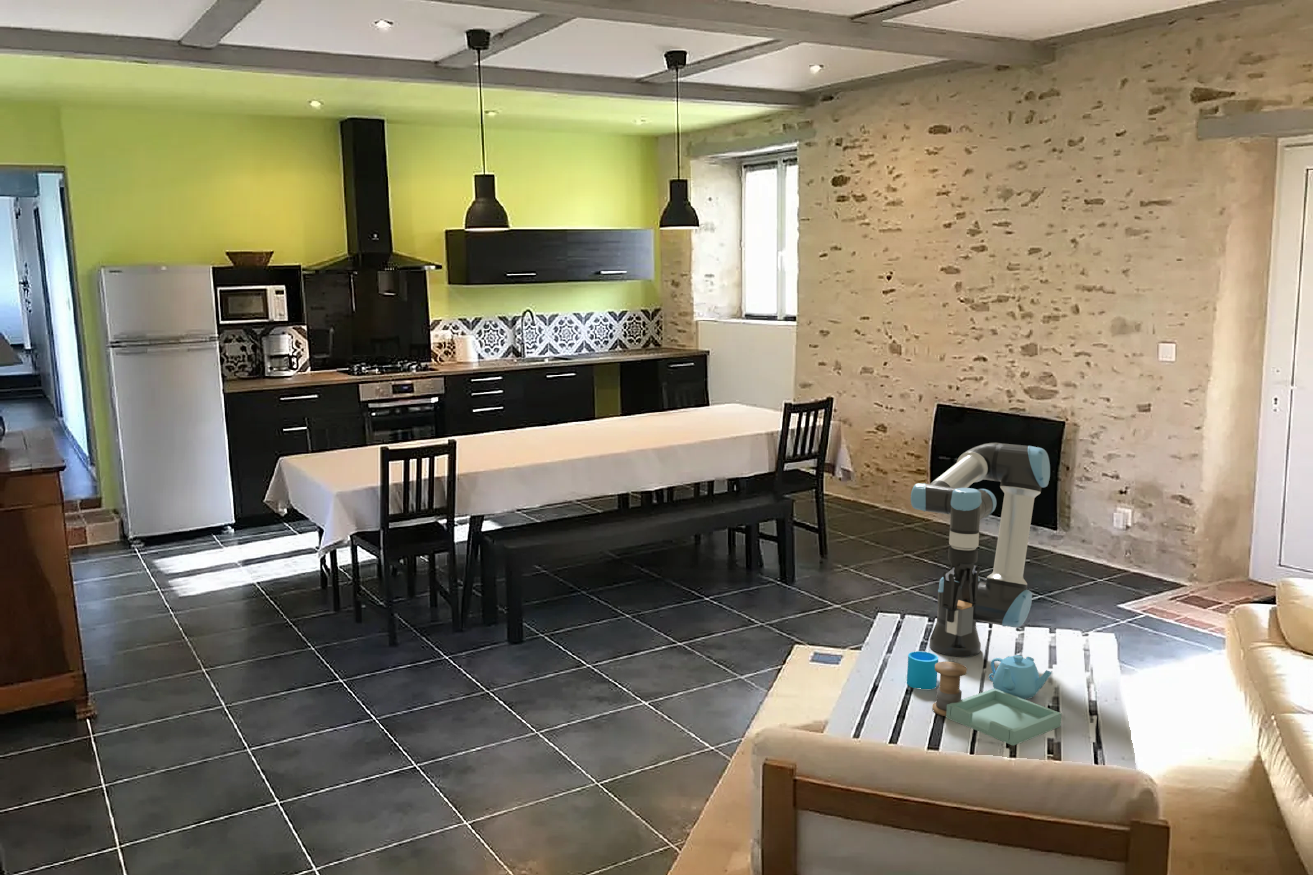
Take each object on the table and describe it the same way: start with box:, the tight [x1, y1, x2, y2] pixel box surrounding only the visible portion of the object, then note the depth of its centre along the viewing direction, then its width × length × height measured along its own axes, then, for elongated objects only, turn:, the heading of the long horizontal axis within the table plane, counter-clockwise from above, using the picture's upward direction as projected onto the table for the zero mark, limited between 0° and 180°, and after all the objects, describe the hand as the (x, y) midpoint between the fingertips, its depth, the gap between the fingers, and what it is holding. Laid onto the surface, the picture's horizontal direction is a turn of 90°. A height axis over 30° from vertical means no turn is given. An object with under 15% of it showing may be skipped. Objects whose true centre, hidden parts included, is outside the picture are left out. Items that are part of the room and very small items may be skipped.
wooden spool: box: [931, 661, 968, 717], centre depth 273 cm, size 8×8×12 cm
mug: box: [906, 650, 939, 690], centre depth 293 cm, size 12×8×8 cm
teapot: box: [988, 654, 1052, 700], centre depth 285 cm, size 15×14×11 cm
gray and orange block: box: [945, 600, 973, 636], centre depth 281 cm, size 5×5×8 cm
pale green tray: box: [945, 687, 1062, 746], centre depth 268 cm, size 20×20×4 cm
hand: (958, 630), depth 281 cm, fingers closed on gray and orange block, 5 cm apart
